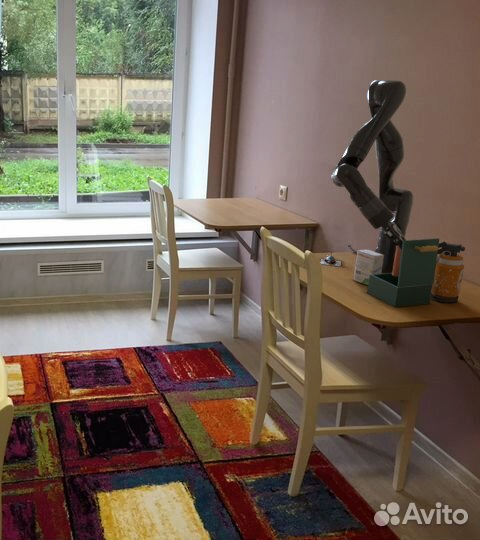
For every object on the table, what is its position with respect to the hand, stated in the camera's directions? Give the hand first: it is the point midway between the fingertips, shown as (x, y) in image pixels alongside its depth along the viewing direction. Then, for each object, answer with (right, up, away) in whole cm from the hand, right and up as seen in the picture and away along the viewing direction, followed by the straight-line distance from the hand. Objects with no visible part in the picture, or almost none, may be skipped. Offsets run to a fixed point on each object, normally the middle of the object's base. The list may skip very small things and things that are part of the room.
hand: (408, 250), depth 205 cm
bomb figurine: (-11, -4, +45) cm, 47 cm away
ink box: (-6, -11, +21) cm, 24 cm away
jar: (-2, -8, +4) cm, 9 cm away
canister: (+13, -17, +5) cm, 22 cm away
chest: (-2, -16, +5) cm, 17 cm away
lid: (0, -4, -5) cm, 7 cm away
